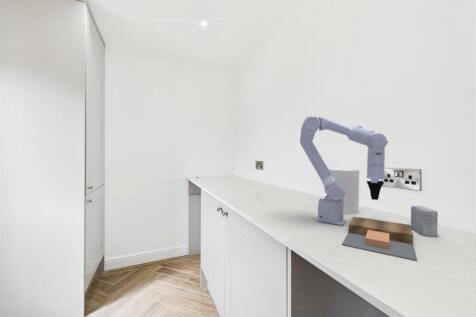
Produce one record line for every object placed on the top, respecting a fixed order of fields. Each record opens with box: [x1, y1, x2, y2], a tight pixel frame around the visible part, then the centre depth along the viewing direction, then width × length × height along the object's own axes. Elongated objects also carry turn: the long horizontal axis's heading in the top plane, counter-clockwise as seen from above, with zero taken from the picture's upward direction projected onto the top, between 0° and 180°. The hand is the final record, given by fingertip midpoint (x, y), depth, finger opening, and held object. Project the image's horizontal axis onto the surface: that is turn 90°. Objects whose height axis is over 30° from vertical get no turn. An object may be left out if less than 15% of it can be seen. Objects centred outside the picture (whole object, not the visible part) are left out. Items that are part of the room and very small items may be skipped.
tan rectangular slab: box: [365, 230, 389, 249], centre depth 71 cm, size 6×9×2 cm, turn 147°
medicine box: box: [410, 205, 439, 238], centre depth 81 cm, size 8×4×9 cm, turn 168°
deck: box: [347, 216, 414, 246], centre depth 80 cm, size 18×12×3 cm, turn 56°
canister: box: [328, 168, 360, 215], centre depth 111 cm, size 14×14×20 cm
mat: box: [341, 232, 418, 262], centre depth 69 cm, size 18×12×1 cm, turn 56°
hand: (374, 199), depth 89 cm, fingers closed
